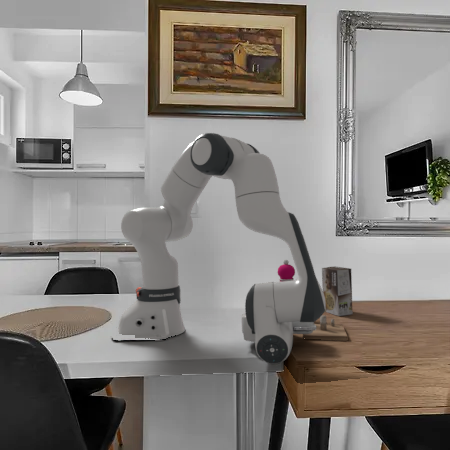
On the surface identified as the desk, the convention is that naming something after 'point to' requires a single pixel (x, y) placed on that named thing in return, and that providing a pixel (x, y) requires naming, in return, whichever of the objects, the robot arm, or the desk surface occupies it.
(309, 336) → the post plate
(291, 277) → the pepper mill
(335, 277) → the coffee box
